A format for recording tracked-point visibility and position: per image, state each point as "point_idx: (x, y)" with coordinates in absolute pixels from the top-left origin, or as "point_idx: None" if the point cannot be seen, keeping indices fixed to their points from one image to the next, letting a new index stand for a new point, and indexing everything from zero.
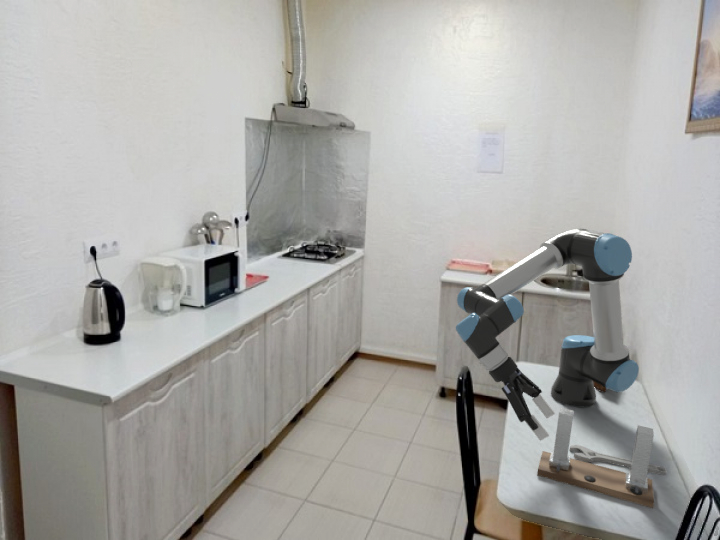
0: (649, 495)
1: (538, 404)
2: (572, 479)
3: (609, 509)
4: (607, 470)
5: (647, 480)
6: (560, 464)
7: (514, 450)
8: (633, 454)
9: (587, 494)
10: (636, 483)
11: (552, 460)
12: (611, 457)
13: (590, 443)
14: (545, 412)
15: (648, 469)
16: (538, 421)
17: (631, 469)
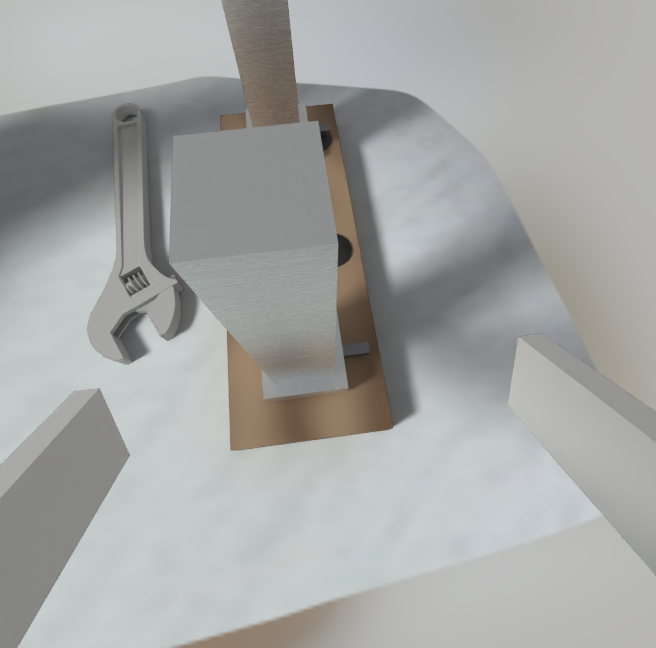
0: (312, 113)
1: (23, 597)
2: (368, 299)
3: (416, 201)
4: None
5: (232, 123)
6: (341, 342)
7: (250, 588)
8: (265, 45)
9: (384, 259)
10: None
11: (339, 376)
12: (124, 226)
13: (33, 307)
14: (93, 477)
15: (143, 140)
16: (646, 431)
17: (295, 99)
